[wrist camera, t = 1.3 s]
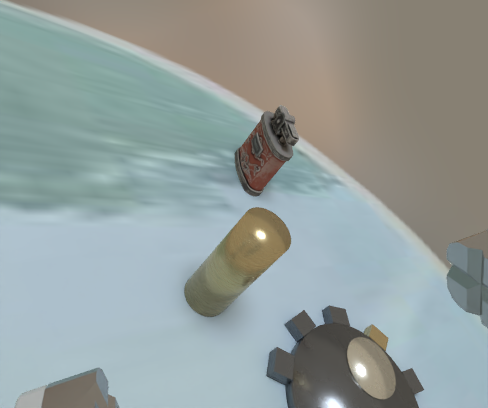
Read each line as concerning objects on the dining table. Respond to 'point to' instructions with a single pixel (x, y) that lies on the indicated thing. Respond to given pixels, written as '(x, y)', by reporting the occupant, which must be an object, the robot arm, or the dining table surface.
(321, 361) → the sprocket plate
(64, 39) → the dining table surface
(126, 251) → the dining table surface
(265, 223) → the pin
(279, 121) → the lighter
